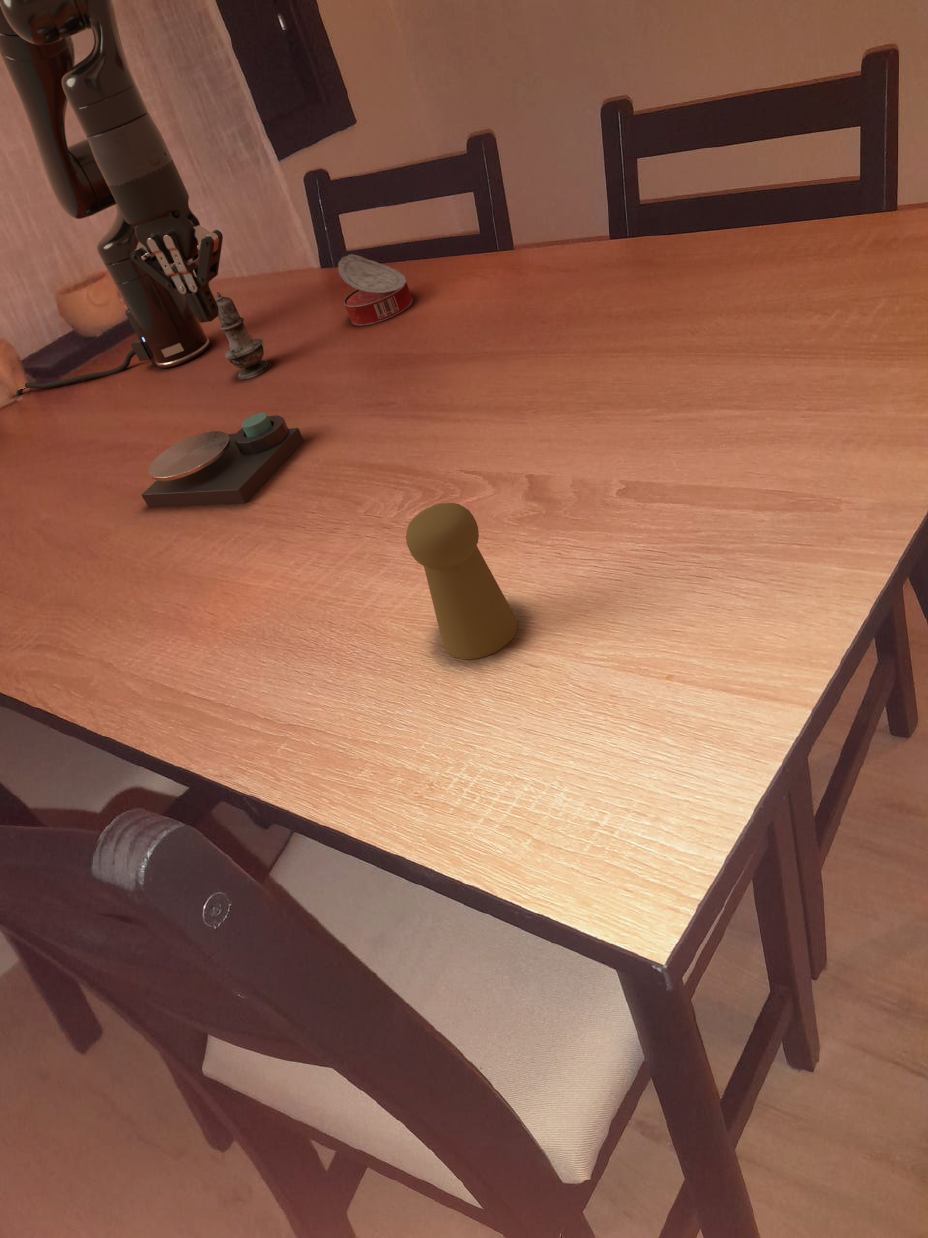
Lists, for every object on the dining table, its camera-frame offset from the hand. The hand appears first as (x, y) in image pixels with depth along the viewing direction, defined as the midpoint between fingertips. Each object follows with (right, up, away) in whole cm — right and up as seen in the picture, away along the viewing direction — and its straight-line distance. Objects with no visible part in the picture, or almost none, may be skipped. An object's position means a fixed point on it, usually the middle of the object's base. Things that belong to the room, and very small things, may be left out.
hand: (209, 318), depth 113 cm
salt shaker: (0, +1, +26) cm, 26 cm away
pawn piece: (+32, -37, -40) cm, 63 cm away
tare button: (+6, -14, -2) cm, 15 cm away
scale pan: (-2, -17, -2) cm, 17 cm away
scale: (+2, -19, -1) cm, 19 cm away
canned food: (+18, +11, +30) cm, 36 cm away
